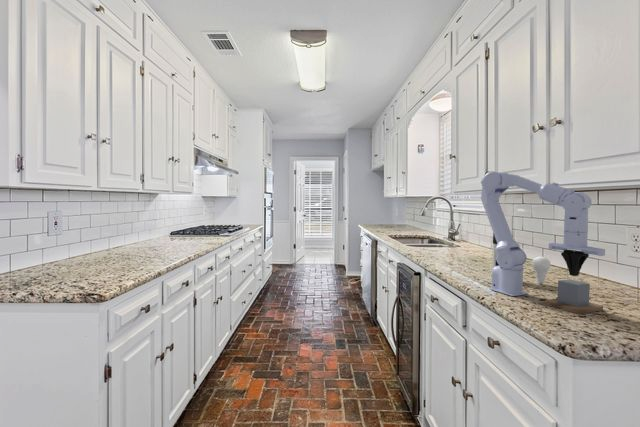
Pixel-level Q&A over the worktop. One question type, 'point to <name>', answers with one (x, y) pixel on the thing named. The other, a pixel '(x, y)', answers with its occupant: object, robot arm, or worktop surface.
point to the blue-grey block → (573, 292)
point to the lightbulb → (541, 268)
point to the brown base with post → (578, 310)
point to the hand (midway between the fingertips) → (574, 275)
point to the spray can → (494, 253)
